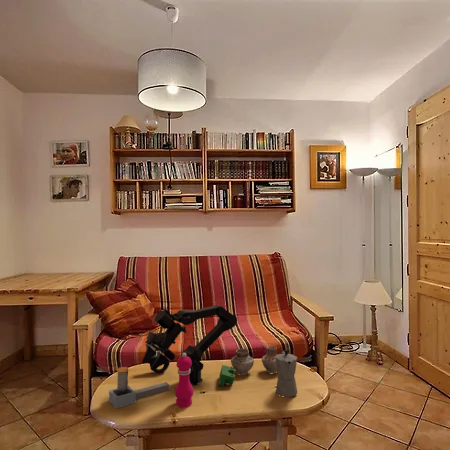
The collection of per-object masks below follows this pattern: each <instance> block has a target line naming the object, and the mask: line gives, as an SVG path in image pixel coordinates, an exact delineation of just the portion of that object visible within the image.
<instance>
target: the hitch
mask: <svg viewBox="0 0 450 450" xmlns="http://www.w3.org/2000/svg"><path fill="white" fill-rule="evenodd" d="M167 391H170V384H169V383H168V382H167V381H166V382H165V381H164V382H162V383H161V382H160V383H158V384H154V385H151V386H146V387H142V388H139V389H135V390H134V389H133V388H132V387H130V385H128V394H124V395H120V396H117V388H114V389H110V390H108V401H109V402H110V404H111V405H112V406H113V407H114V409H118V408H122V407H125V406H130V405H132V404H135V403H136V402H137V400H139V399H143V398H146V397H150V396H154V395H157V394H160V393H164V392H167Z"/></svg>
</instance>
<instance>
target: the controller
mask: <svg viewBox="0 0 450 450" xmlns="http://www.w3.org/2000/svg"><path fill="white" fill-rule="evenodd" d="M157 357H158V354H157V355H156V354H155V355H154V356H153V357H152V358H150V359H149V360H148V361H147V362H145V364H149V367H150V369H151V367H152V365H153V364H154V362H155V360H156V359H157ZM169 361H170V362H167V363H165V364H163V365H162V367H161V368H156V369H154V370H153V371H152V372H153V373H156V374H162V373H164V372H166V370H167V369H168V368H169V366H170V363H171V360H169Z"/></svg>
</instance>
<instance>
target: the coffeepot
mask: <svg viewBox="0 0 450 450" xmlns="http://www.w3.org/2000/svg"><path fill="white" fill-rule="evenodd" d="M275 359H276V366H277V373H276V374H278V377H277V382H276V388H275V394H276V393H277V394H278V395H277V394H276V395H277V396H279V395H280V396H279V397H281V396H284V397H283V398H285V397H292V396H295V397H297V395H298V387H297V382H296V377H295V375H296V368H297V361H298V356H296V355H294V354H291V353H289V350H288V349H282V350H281V351H280V353H279V354H278V353H277V354H276V357H275ZM296 394H297V395H296ZM292 398H293V397H292Z"/></svg>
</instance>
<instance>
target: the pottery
mask: <svg viewBox="0 0 450 450" xmlns="http://www.w3.org/2000/svg"><path fill="white" fill-rule="evenodd" d="M277 350H278V347H277V346H275V345H269V346H268V345H267V346H266V351H267V354H265V355H263V356H262V357H261V363H262V366H263V367H264V369H265V373H266V372H268V373H276V372H277V366H276V359H275V357H276V355H277ZM249 351H250V350H249V349H246V348H238V349H236V350H235V355H234V356H233V357H232V358H231V359H230V364H231V367H233V368H234V369H235V371H236V372H235V373H236V375H238V374H240V376H246V375H245V374H247V375H248V374H249V371H251V369H252V368H254V367H253V366H254V364H255V360H254V358H253V357H252V356H250V355H249V354H250V353H249ZM268 373H267V374H268ZM276 374H277V373H276Z"/></svg>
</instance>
